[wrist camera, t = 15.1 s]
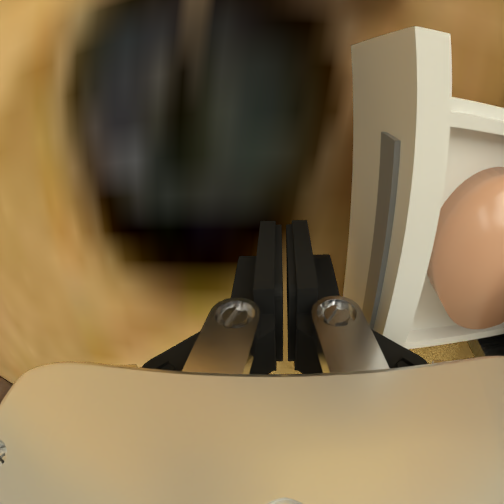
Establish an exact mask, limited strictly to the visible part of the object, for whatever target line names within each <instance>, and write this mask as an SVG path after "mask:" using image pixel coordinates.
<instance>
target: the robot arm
mask: <svg viewBox="0 0 504 504" xmlns="http://www.w3.org/2000/svg"><path fill="white" fill-rule="evenodd" d="M286 248H287V317H288V361H294V365H295V370H298V371H300V372H301V373H302V374H269V373H271V372H272V371H276V361H283V275H282V229H281V225H276V222H275V221H260V230H259V239H258V248H257V256H240V257H239V259H238V264H237V269H236V274H235V279H234V284H233V290H232V295H231V298H229V299H225V300H223V301H221V302H219V303H217V304H216V305H215V306H214V307H213V308H212V309H211V311H210V313H209V315H208V317H207V319H206V321H205V323H204V325H203V327H202V329H201V331H200V332H198V333H196V334H195V335H193V336H191V337H190V338H188V339H186V340H184V341H183V342H181V343H179V344H177V345H176V346H174V347H172V348H170V349H169V350H167V351H165V352H163V353H161V354H160V355H158V356H156V357H154V358H153V359H151V360H149V361H148V362H147V363H145V364H144V365H143V367H140V368H138V367H137V365H136V364H132V365H110V364H100V363H90V362H56V363H51V364H46V365H41V366H38V367H35V368H33V369H30V370H28V371H27V372H25V373H24V374H23V375H21V376H20V377H19V378H18V379H17V381H16V382H15V383H14V384H13V385H12V387H11V388H10V390H9V391H8V393H7V394H6V396H5V397H4V399H3V400H2V402H1V404H0V504H504V356H485V357H476V358H469V359H461V360H453V361H440V360H433V362H432V364H428V363H427V362H426V360H424V359H423V358H422V357H420V356H419V355H417V354H415V353H413V352H412V351H410V350H408V349H406V348H404V347H403V346H401V345H399V344H397V343H395V342H394V341H392V340H390V339H388V338H387V337H385V336H383V335H381V334H379V333H378V332H376V331H374V330H372V329H371V328H370V326H369V324H368V322H367V320H366V318H365V316H364V314H363V312H362V310H361V308H360V307H359V305H358V304H357V303H356V302H354V301H353V300H351V299H349V298H346V297H341V296H340V295H339V291H338V286H337V282H336V278H335V273H334V269H333V265H332V261H331V257H330V255H329V254H328V255H313V253H312V247H311V241H310V235H309V229H308V224H307V220H292V224H288V225H286Z"/></svg>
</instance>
